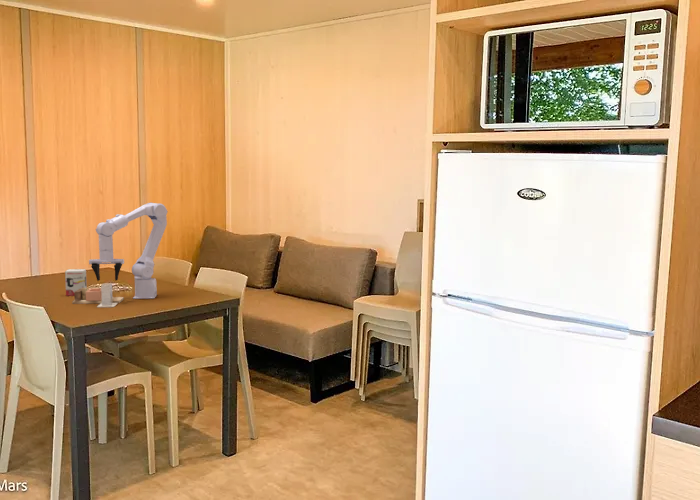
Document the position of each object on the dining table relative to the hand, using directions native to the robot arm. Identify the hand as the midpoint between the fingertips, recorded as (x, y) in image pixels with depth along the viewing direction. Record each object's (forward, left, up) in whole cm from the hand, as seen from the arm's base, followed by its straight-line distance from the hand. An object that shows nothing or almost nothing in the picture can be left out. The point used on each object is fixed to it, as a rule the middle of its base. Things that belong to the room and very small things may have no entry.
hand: (107, 280), depth 291 cm
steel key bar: (-1, +7, -10) cm, 12 cm away
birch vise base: (+5, -2, -10) cm, 11 cm away
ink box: (+19, -18, -10) cm, 28 cm away
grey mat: (-1, +7, -10) cm, 12 cm away
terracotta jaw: (+6, -2, -9) cm, 11 cm away
